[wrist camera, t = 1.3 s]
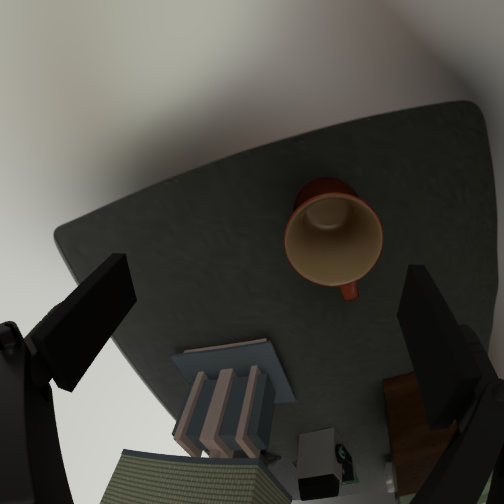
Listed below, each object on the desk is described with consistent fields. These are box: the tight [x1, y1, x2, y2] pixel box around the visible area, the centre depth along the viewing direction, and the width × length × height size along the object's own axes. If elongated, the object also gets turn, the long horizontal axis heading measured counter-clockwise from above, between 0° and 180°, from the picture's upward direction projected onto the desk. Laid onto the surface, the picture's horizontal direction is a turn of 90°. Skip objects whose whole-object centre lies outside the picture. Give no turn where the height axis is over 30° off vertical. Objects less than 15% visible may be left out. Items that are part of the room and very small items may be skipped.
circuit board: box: [293, 462, 359, 485], centre depth 65 cm, size 14×20×1 cm
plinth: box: [383, 372, 458, 504], centre depth 37 cm, size 16×18×22 cm
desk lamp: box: [100, 338, 296, 504], centre depth 35 cm, size 18×14×33 cm
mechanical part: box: [384, 462, 394, 492], centre depth 53 cm, size 11×12×12 cm
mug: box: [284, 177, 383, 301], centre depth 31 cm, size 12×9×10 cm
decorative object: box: [295, 427, 354, 501], centre depth 51 cm, size 8×18×15 cm, turn 29°
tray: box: [399, 471, 493, 504], centre depth 27 cm, size 15×17×2 cm
